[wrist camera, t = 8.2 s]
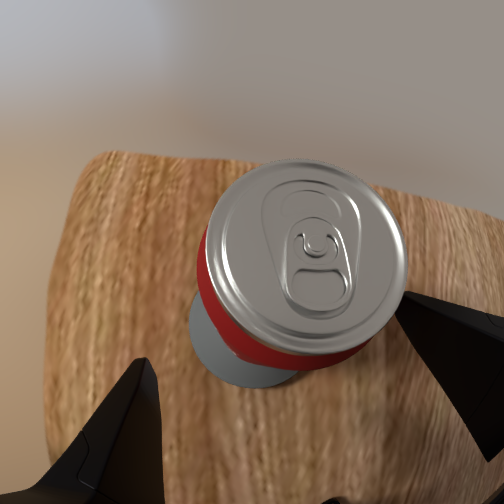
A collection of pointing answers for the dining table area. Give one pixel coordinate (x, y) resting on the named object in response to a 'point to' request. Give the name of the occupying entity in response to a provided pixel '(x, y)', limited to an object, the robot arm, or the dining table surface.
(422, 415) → the dining table surface
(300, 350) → the soda can
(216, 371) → the coaster
